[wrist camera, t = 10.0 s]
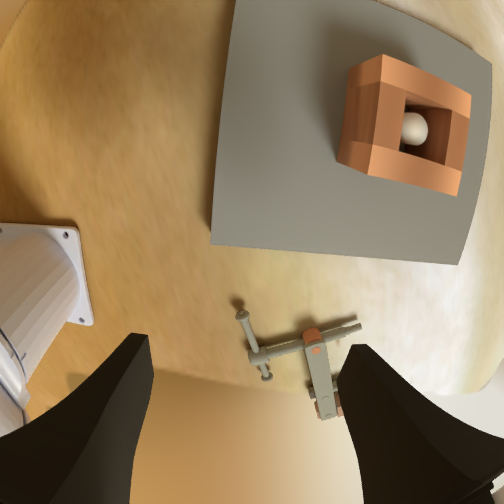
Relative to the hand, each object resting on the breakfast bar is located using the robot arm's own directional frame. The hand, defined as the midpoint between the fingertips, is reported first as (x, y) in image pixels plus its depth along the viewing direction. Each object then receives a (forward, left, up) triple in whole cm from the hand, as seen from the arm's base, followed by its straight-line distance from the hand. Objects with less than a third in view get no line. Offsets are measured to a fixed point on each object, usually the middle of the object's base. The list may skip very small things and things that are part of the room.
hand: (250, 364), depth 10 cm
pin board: (+7, +9, -9) cm, 15 cm away
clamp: (+7, -10, -10) cm, 16 cm away
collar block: (+7, +9, -8) cm, 14 cm away
